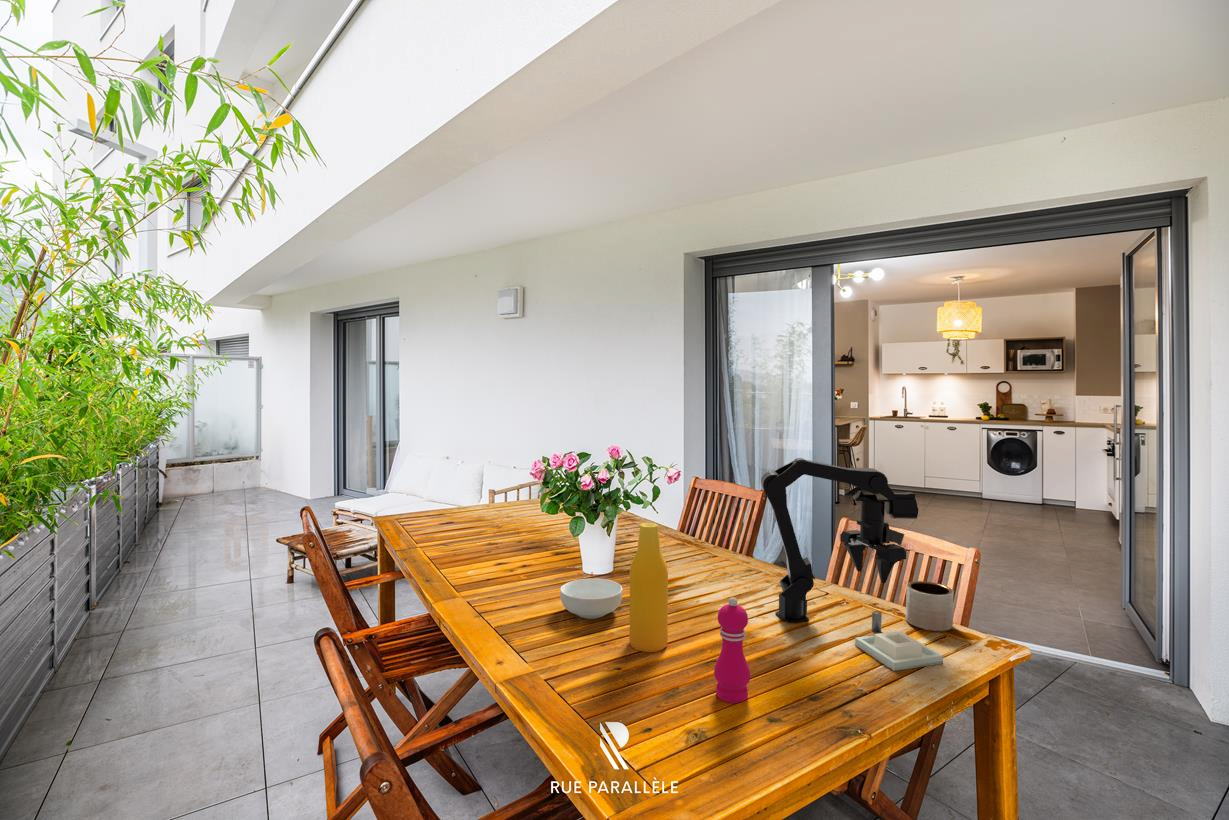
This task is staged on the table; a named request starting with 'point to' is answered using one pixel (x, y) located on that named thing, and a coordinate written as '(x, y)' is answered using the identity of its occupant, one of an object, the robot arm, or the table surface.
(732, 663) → the pepper mill
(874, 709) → the table surface
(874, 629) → the post
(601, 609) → the cereal bowl
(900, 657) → the white block
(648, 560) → the beer bottle
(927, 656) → the tray
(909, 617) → the planter
